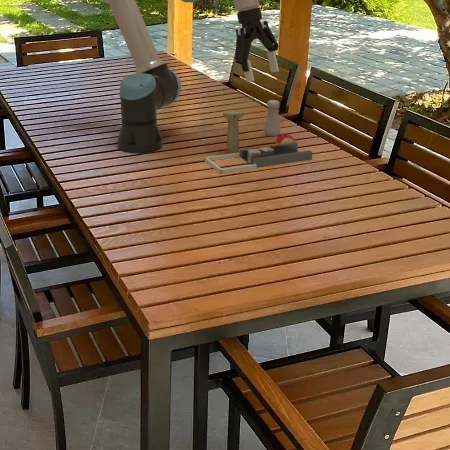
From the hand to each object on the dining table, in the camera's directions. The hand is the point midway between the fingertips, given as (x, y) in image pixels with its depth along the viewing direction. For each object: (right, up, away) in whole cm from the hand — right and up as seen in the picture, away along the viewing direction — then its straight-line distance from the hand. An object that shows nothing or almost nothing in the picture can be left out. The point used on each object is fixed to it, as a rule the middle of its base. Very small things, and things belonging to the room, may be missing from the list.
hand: (262, 76), depth 229 cm
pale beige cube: (+1, -27, -1) cm, 27 cm away
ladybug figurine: (+9, -20, +16) cm, 27 cm away
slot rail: (+4, -27, 0) cm, 27 cm away
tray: (-11, -30, -6) cm, 32 cm away
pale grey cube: (-3, -27, -3) cm, 28 cm away
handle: (-10, -26, +4) cm, 28 cm away
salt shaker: (+5, -16, +24) cm, 30 cm away
